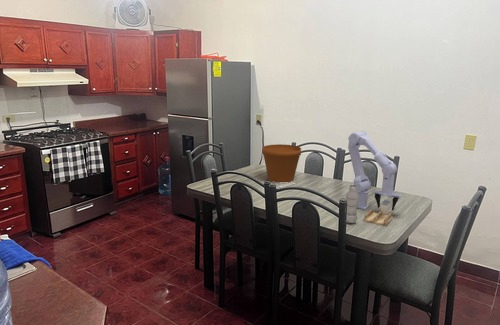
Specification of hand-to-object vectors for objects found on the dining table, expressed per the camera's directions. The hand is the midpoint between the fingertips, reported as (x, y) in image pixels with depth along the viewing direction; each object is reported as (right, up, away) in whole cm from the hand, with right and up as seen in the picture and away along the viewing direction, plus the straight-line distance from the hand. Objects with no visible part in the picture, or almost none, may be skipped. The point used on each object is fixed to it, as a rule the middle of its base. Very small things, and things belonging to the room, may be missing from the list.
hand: (385, 208), depth 201 cm
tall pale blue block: (0, -3, +1) cm, 3 cm away
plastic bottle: (-23, -6, -11) cm, 26 cm away
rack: (-7, -5, -8) cm, 11 cm away
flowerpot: (-53, +13, +66) cm, 85 cm away
